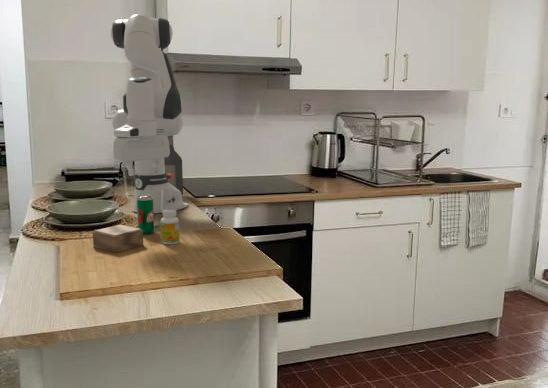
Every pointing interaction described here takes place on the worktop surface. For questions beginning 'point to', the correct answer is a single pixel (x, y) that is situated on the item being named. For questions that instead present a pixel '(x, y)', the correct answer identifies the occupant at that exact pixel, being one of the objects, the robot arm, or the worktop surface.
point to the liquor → (174, 167)
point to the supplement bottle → (169, 227)
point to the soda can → (145, 213)
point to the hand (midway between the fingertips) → (143, 174)
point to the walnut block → (117, 238)
